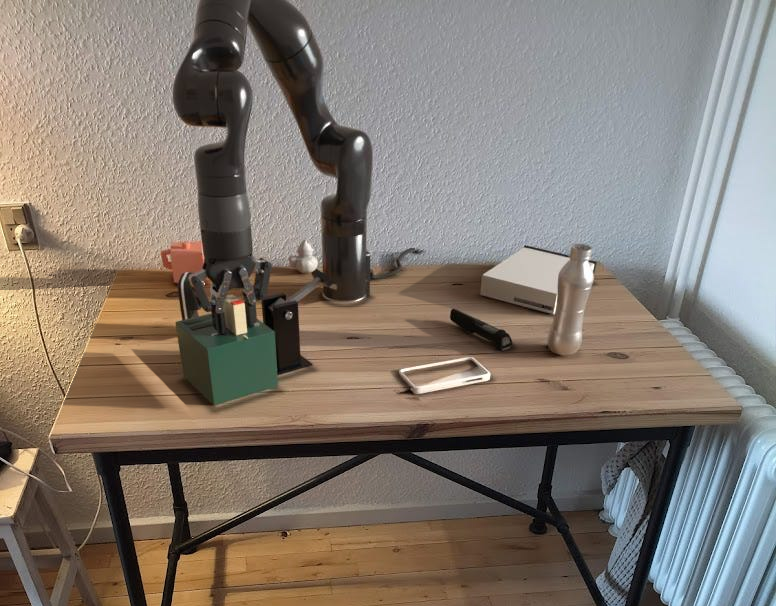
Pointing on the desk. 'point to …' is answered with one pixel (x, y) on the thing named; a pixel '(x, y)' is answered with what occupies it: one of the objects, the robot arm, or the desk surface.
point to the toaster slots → (199, 321)
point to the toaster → (227, 360)
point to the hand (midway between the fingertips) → (235, 328)
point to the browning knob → (235, 315)
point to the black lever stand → (284, 333)
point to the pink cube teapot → (183, 258)
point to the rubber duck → (304, 258)
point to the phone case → (449, 377)
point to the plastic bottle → (571, 301)
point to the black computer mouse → (187, 299)
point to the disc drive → (527, 279)
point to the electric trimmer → (481, 329)
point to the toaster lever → (306, 288)
